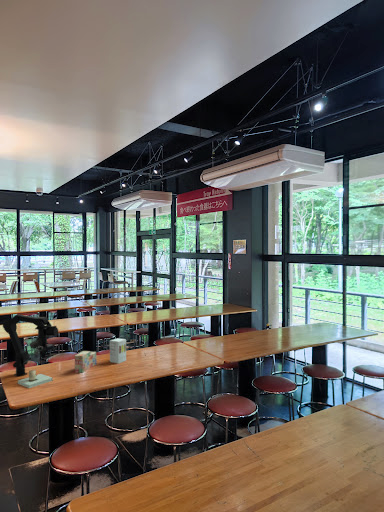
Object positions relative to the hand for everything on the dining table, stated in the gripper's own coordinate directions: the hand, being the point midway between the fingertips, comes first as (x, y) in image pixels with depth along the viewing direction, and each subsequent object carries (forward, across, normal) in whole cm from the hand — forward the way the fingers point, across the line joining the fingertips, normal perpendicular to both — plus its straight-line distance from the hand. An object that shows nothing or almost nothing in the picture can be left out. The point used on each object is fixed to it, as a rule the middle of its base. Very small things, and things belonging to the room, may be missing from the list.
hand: (42, 358), depth 240 cm
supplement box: (+12, +18, +52) cm, 56 cm away
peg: (+12, +8, -12) cm, 19 cm away
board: (+12, +8, -10) cm, 18 cm away
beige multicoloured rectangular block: (+12, +11, +27) cm, 32 cm away
